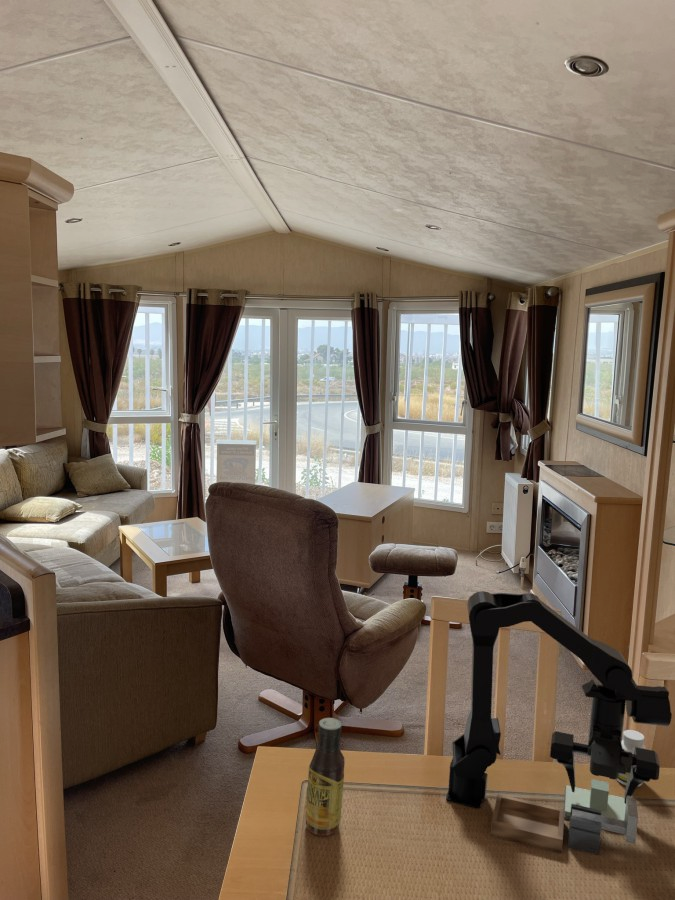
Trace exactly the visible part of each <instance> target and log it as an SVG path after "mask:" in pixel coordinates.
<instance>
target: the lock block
mask: <svg viewBox="0 0 675 900" xmlns="http://www.w3.org/2000/svg"><path fill="white" fill-rule="evenodd" d="M572 809H575V810H579V811H583V812H588V813H592V814H597V815H601V810H597V809H592V808H588V807H584V806H579V805H575V804H571V812H570V820H569V822H568V823H569V824H568V836H567V837H568V839H567V840H568V841H567V848H569V849H573V850H576V851H580V852H585V853H589V854H594V855H597V856H599V852H600V844H601V835H602V834H601V833H602V829H601V823H600V822H596V821H592V820H587V819H583V818H579V817H574V816H572Z"/></svg>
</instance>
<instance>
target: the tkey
mask: <svg viewBox="0 0 675 900" xmlns="http://www.w3.org/2000/svg"><path fill="white" fill-rule="evenodd" d="M638 814H639V812H638V801H637V797H636V796H633V795H632V796H628V795H627V799H626V808H625V818H624V821H623V820H618V819H614V818H610V817H605V816H601V815H597V814H592V813H588V812H583V811H579V810H575V809H572V816H574V817H579V818H583V819H587V820H592V821H596V822H600V823H601V830H603V831H604V830H605V831H608V832H612V833H616V834H617V833H618V834H621V835H625V837H624V838H625V842H626V843H628V844H629V843H630V844H633V845H636V840H637V832H638V831H637V830H638V823H639V822H638V821H639V815H638Z"/></svg>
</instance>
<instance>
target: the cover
mask: <svg viewBox="0 0 675 900" xmlns="http://www.w3.org/2000/svg"><path fill="white" fill-rule="evenodd" d="M609 785H610V784H609V782H608V781H607V782H606V781H602V780H597V779H594V778H591V782H590V789H585V788H580V787H576V786H575V792H572V789H571V785H567V784H566V786H565V787H566V800H565V799H564V803H565V815H567V816H570V812H571V804H575V805H579V806H584V807H588V808H592V809H597V810H601V816H605V817H610V818H614V819H618V820H623V821H624V818H625V808H626V804H625V803H624V796H623V797H622V796H617V795H613V794H609V793H610V789H609V787H610V786H609Z"/></svg>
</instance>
